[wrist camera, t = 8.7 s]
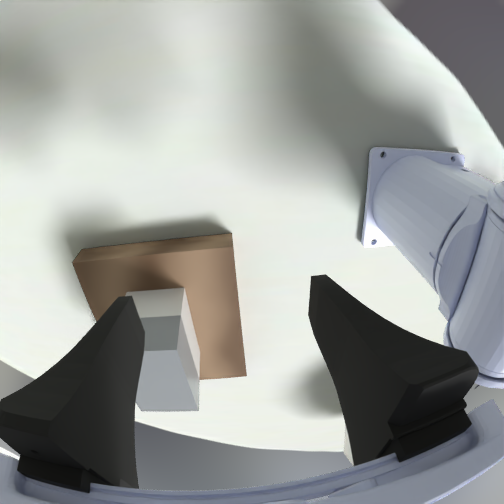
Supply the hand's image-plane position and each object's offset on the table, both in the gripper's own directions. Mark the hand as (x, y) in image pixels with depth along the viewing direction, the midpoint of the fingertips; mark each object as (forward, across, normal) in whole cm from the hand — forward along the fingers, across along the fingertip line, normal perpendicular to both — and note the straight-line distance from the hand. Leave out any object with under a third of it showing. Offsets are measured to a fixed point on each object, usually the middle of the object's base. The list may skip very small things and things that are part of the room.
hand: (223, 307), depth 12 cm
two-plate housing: (+8, +5, +8) cm, 13 cm away
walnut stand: (+10, +5, +9) cm, 15 cm away
